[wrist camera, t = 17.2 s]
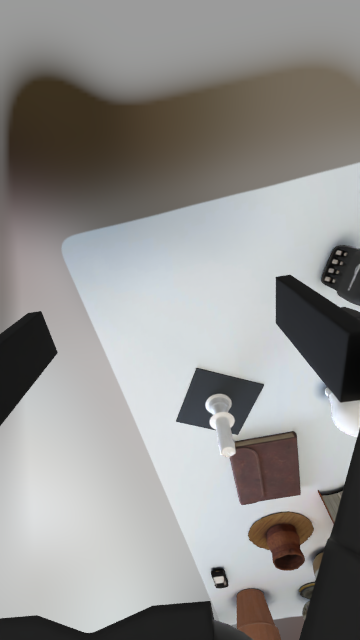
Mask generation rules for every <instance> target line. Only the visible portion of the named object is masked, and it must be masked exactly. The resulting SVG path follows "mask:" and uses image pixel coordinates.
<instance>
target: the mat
mask: <svg viewBox="0 0 360 640" xmlns="http://www.w3.org/2000/svg"><path fill="white" fill-rule="evenodd" d="M263 386H264V384H260V383H256V382H252V381H248V380H244V379H239V378H235V377H231V376H227V375H223V374H219V373H215V372H211V371H207V370H203V369H199V368H196V371H195V374H194V376H193V379H192V381H191V384H190V387H189V389H188V392H187V394H186V397H185V400H184V402H183V405H182V407H181V410H180V413H179V415H178V418H177V420H176V422H180V423H185V424H189V425H194V426H199V427H203V428H208V429H213V428H212V427H211V426H210V418H211V417H212V416H213V414H212V413H210V412H209V411H208V410H207V409H206V406H205V404H206V401H207V399H208V398H209V397H210V396H212V395H215V394H224V395H226V396H228V397H229V398H230V399H231V402H232V405H231V408H230V409H229V411H228V413H230V414H231V415H232V416H233V417H234V420H235V422H234V425H233V426H232V427H231V432H232V434H236V435H238V434H239V432H240V430H241V428H242V426H243V424H244V422H245V420H246V418H247V417H248V415H249V413H250V411H251V409H252V407H253V405H254V403H255V401H256V399H257V398H258V396H259V394H260V392H261V390H262V388H263ZM213 430H215V429H213Z"/></svg>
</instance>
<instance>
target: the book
mask: <svg viewBox="0 0 360 640" xmlns="http://www.w3.org/2000/svg"><path fill="white" fill-rule="evenodd" d="M318 492H319V491H318ZM342 492H343V491H341V492H339V493H335V494H332V495H325V496H322V495H321V494H320V492H319V495H320V497H321V499H322V501H323V503H324V505H325V507H326V509H327V511H328V513H329V515H330V517H331V519H332V521H333V523H334V522H335V518H336V515H337V511H338V507H339V503H340V500H341V496H342Z"/></svg>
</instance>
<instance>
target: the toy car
mask: <svg viewBox="0 0 360 640" xmlns="http://www.w3.org/2000/svg"><path fill="white" fill-rule="evenodd" d="M211 575H212V578H213V580H214V582H215V586H216V588H225V587H228V580H227V578H226V575H225V571H224V570H217V571H211Z"/></svg>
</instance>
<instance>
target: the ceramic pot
mask: <svg viewBox="0 0 360 640" xmlns="http://www.w3.org/2000/svg"><path fill="white" fill-rule="evenodd" d="M313 531H314V528H313V526H312V522H311V521H310V520H309V519H307V518H306V517H304V516H302V515H300V514H295V513H291V512H287V513H282V512H280V513H277V514H272V515H269V516H267V517H264V518H262V519H260V520H258V521H256V522H255V523H254V524H253V525H252V527H251V528H250V531H249V533H248V534H249V535H248V536H249V538H250V539H249V540H250V541H252V542H253V544H255V545H257V546H258V547H260V548H265V549H267V550H270V551H271V552H272V557H273V563H274V565H275V567H276V568H278V569H280V570H294V569H298V568H299V567H300V566H301V565H302V564H303V563H304V561H305V558H304V555H303V553H302V552H301V550H300V545H301V544H302V543H304V542H305V541H306V540H308V537H310V536H311V535H312V533H313Z"/></svg>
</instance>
